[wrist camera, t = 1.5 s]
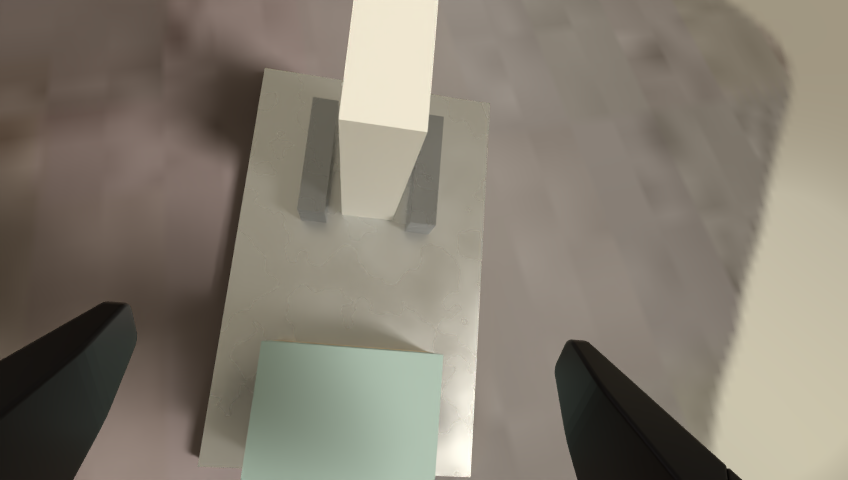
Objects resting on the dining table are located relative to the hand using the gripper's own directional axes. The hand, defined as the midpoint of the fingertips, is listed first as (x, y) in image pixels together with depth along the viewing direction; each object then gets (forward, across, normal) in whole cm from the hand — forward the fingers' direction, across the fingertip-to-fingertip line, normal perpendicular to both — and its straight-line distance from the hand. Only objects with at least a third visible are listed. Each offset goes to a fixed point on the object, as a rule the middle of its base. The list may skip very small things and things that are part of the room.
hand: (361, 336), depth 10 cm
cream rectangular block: (+15, 0, +3) cm, 15 cm away
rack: (+12, 0, +7) cm, 14 cm away
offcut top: (+5, 0, +10) cm, 11 cm away
